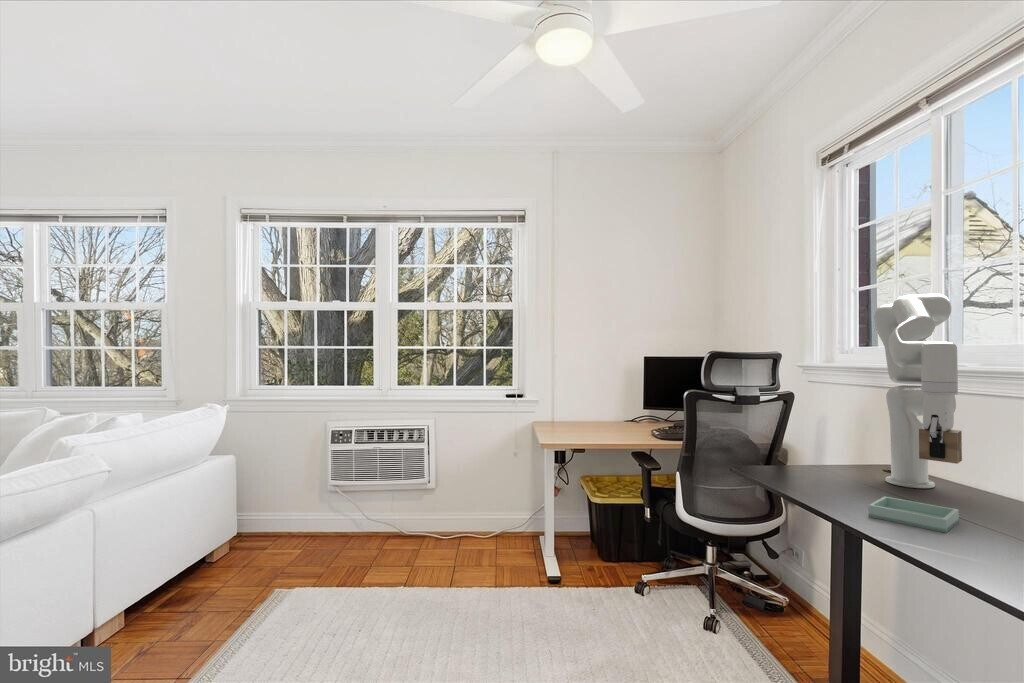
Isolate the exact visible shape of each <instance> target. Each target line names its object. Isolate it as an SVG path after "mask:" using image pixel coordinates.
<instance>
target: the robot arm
mask: <svg viewBox="0 0 1024 683" xmlns="http://www.w3.org/2000/svg"><path fill="white" fill-rule="evenodd" d="M951 313H952V305H951V301H950V299H949V298H948V297H947V296H946V295H944V294H941V293H927V294H926V293H923V294H922V293H921V294H906V295H903V296H902V295H901V296H899V297H898V298H896V299H895V300H894V302H892V303H889V304H888V303H887V304H883V305H881V306H879V307H877V308H876V310H875V311H874V314H873V315H874V316H873V320H874V328H875V330H876V332H877V333H876V334H878V337H879V339H880V341H881V343H882V344H883V347H884V352H885V359H886V366H887V367H886V368H887V372H888V376H889V379H890V381H891V382H893V383H896V384H901V385H895V386H892V387H891V388H889V389H888V390H887V392H886V393H885V394H886V395H885V397H886V398H885V399H886V405H887V410H888V415H889V416H888V417H889V423H890V424H889V427H890V434H889V436H890V472H891V473H890V474H891V475H889V476H886V477H885V482H886V483H889V484H891V485H895V486H899V487H904V488H910V489H911V488H914V489H932V488H935V486H936V483H935V482H934V481H932V480H929V460H926V459H919V429H920V428H922V427H923V429H924V430H926V429H927V430H928V428H929V429H930V442H929V451H930V457H934V458H942V459H944V458H945V443H944V432H946V431H948V430H950V429H951V430H953V428H954V423H955V422H954V421H955V420H954V418H955V417H954V416H955V412H956V409H957V401H956V399H957V398H956V396H957V395H959V394H958V393H959V392H958V391H959V386H958V384H959V382H958V379H959V378H958V375H959V373H958V372H959V371H958V370H959V368H958V346H957V345H956V344H955V343H954V342H951V341H945V340H924V339H926V338H927V337H929V336H931V335H932V334H933V333H934V331H935V328H936V327H938V326H939V325H941V324H943V323H944V322H945V321H947V320H948V318H950V316H951ZM919 416H920V417H922V422H921V421H920V420H919V418H918V417H919ZM937 429H941V431H937ZM937 433H938V434H937ZM939 434H940V435H939Z"/></svg>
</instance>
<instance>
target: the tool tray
mask: <svg viewBox="0 0 1024 683" xmlns="http://www.w3.org/2000/svg"><path fill="white" fill-rule="evenodd" d="M959 511H960V510H959V509H958V508H951V507H946V506H940V505H934V504H931V503H923V502H918V501H912V500H906V499H902V498H894V497H891V496H885V495H884V496H882V497H880V498H879V499H877V500H875V501H874V502H871V503H870V504H868V517H869V518H872V519H873V518H874V519H878V520H883V521H887V522H892V523H897V524H902V525H906V526H912V527H915V528H916V527H917V528H921V529H925V530H930V531H936V532H941V533H944V534H947V533H948V532H949V531H950V530H951V529H952V528H954V527H955V526H956V525H957V524H958V523H959V522H960V518H959V517H960V512H959Z"/></svg>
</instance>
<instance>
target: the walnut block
mask: <svg viewBox="0 0 1024 683" xmlns="http://www.w3.org/2000/svg"><path fill="white" fill-rule="evenodd" d="M937 431H941V429H937ZM962 432H963V431H962V430H961V429H959V430H958V429H950V430H948V431H946V432H944V443H945V458H944V459H942V458H934V457H930V451H929V442H930V429H929V428H928V430H927V429H926V430H924V429H923V427H922V428H920V429H919V459H926V460H928V461H935V462H942V463H949V464H956V465H958V464H959V463H961V462H962V461H963V452H962V451H963V448H962V446H963V445H962V444H963V443H962V440H963V439H962V437H963V436H962V435H963V434H962ZM937 434H938V433H937ZM939 435H940V434H939Z"/></svg>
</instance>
